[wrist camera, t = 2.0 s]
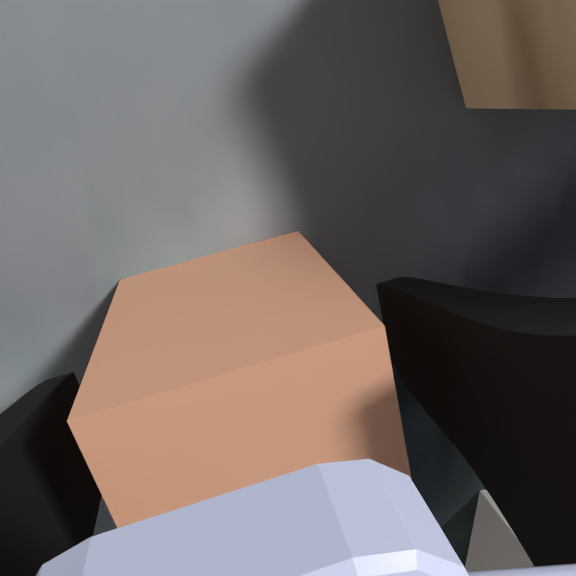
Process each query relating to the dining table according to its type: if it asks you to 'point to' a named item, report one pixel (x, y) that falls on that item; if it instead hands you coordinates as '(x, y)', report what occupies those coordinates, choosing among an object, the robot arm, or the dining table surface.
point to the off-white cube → (493, 540)
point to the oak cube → (513, 52)
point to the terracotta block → (233, 379)
